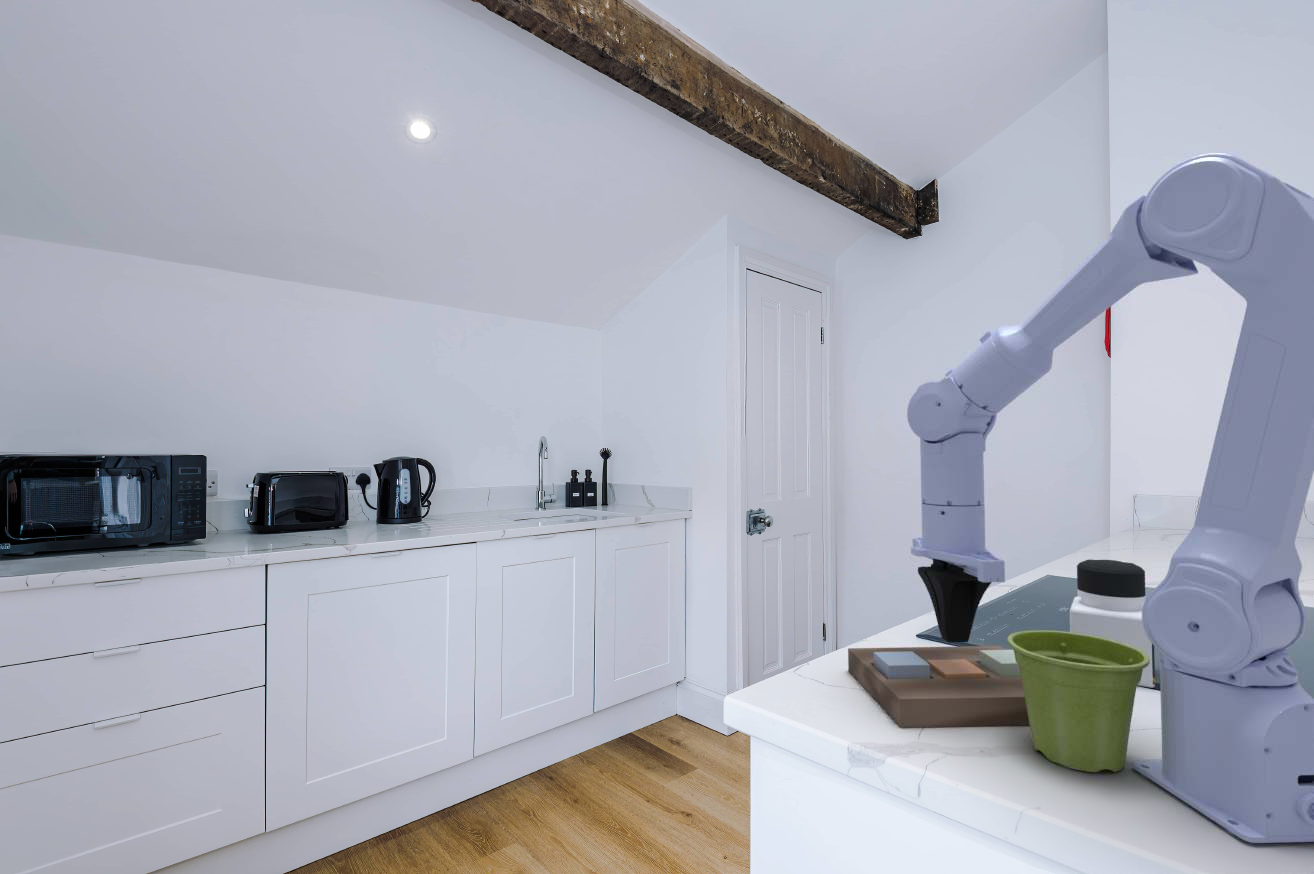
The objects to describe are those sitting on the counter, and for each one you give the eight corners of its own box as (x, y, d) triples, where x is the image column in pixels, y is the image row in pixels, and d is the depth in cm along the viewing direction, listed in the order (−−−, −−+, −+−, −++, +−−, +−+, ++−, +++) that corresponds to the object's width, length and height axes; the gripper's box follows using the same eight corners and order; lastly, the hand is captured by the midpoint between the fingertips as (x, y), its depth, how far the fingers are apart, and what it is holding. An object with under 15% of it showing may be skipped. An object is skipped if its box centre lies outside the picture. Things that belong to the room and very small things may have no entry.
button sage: (1043, 687, 60) (1042, 662, 60) (1002, 688, 60) (1001, 663, 60) (1018, 672, 64) (1017, 649, 64) (979, 673, 64) (979, 650, 64)
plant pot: (1020, 719, 56) (1018, 623, 57) (1153, 750, 50) (1151, 642, 51) (998, 759, 49) (996, 649, 49) (1151, 801, 43) (1148, 675, 43)
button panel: (1090, 723, 55) (1089, 695, 55) (900, 727, 55) (899, 698, 55) (1000, 668, 69) (999, 645, 69) (848, 670, 69) (848, 648, 69)
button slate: (930, 689, 60) (929, 664, 60) (889, 690, 60) (888, 665, 60) (912, 674, 64) (912, 651, 64) (873, 675, 64) (873, 651, 64)
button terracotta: (986, 698, 60) (986, 673, 60) (945, 698, 60) (945, 673, 60) (965, 682, 64) (965, 659, 64) (927, 683, 64) (926, 659, 64)
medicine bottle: (1155, 689, 63) (1152, 570, 63) (1070, 674, 67) (1068, 563, 68) (1153, 669, 69) (1150, 559, 69) (1075, 656, 73) (1073, 553, 73)
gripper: (884, 498, 70) (886, 620, 69) (947, 511, 55) (950, 665, 55) (947, 497, 70) (949, 619, 70) (1026, 510, 55) (1030, 664, 55)
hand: (954, 640), depth 62 cm, fingers closed
